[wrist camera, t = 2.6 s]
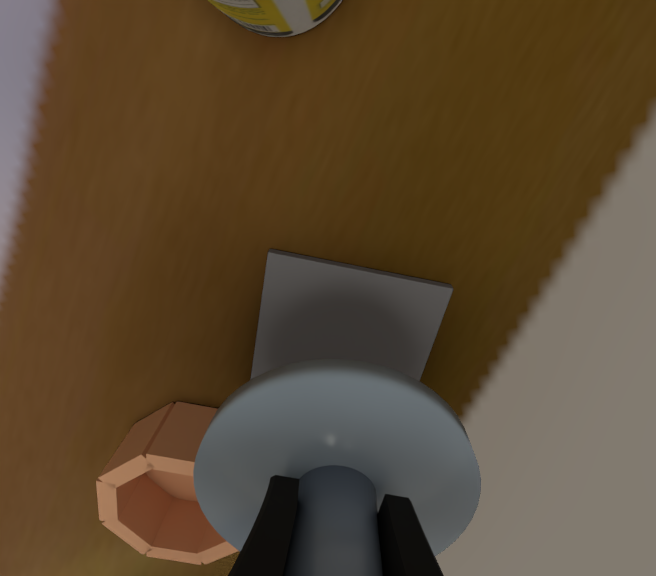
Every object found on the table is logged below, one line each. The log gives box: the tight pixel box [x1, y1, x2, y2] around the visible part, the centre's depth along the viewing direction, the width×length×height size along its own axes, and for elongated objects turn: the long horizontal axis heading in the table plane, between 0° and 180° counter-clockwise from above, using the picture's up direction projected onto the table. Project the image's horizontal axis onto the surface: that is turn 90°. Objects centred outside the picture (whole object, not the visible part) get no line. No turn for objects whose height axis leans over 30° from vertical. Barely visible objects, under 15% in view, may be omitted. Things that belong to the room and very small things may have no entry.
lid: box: [193, 359, 481, 576], centre depth 9 cm, size 8×8×4 cm
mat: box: [251, 249, 453, 381], centre depth 16 cm, size 8×7×1 cm
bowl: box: [96, 401, 239, 565], centre depth 18 cm, size 7×7×3 cm
